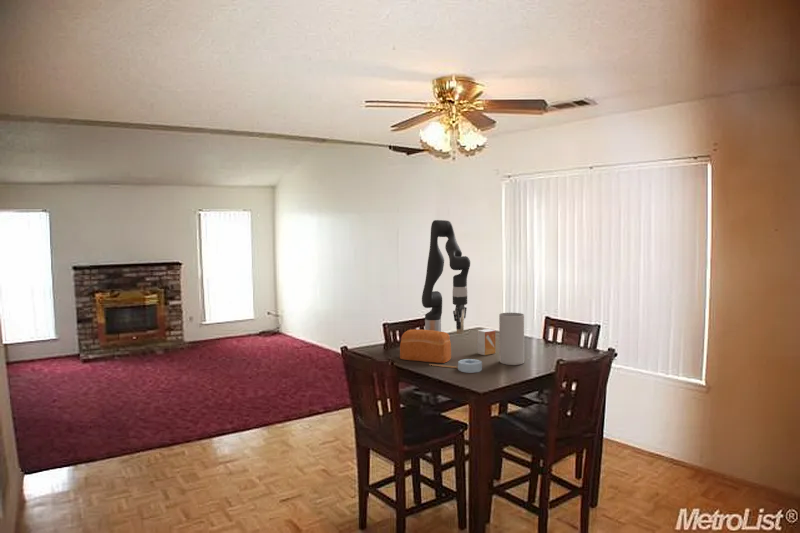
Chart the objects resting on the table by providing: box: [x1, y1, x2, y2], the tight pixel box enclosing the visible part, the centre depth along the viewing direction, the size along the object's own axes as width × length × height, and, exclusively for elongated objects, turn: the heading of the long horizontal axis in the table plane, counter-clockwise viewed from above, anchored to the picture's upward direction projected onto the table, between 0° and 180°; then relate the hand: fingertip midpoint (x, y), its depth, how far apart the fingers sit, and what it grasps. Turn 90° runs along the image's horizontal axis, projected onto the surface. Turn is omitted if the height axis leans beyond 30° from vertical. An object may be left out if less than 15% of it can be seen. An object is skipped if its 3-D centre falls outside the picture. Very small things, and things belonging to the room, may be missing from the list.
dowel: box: [456, 310, 465, 335], centre depth 282 cm, size 4×4×12 cm
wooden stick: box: [428, 363, 458, 369], centre depth 276 cm, size 17×1×1 cm, turn 63°
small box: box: [476, 328, 496, 356], centre depth 303 cm, size 8×6×13 cm
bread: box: [399, 328, 452, 364], centre depth 292 cm, size 14×26×16 cm, turn 65°
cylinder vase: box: [498, 312, 525, 366], centre depth 282 cm, size 12×12×25 cm
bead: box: [457, 358, 483, 374], centre depth 270 cm, size 11×11×4 cm
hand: (460, 328), depth 282 cm, fingers closed on dowel, 3 cm apart
